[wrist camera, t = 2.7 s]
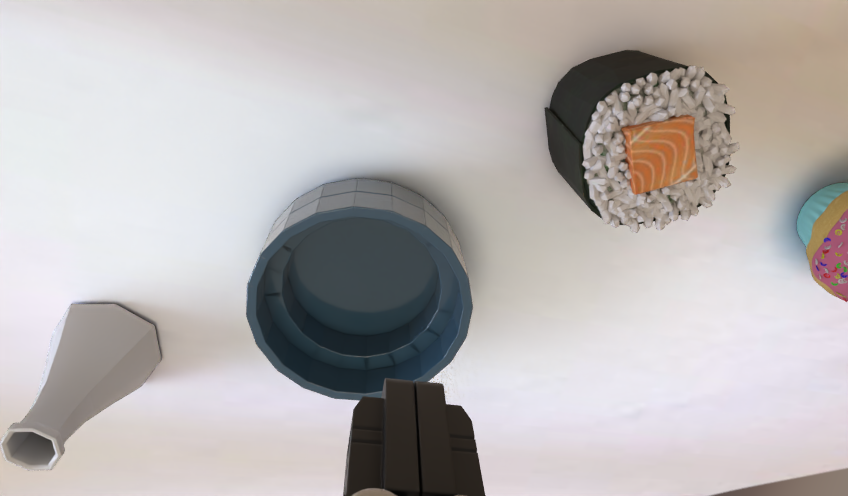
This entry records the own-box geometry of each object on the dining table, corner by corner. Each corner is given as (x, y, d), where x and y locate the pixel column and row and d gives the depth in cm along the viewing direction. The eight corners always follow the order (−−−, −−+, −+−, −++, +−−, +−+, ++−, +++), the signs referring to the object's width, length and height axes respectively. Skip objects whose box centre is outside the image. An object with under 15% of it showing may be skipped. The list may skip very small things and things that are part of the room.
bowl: (268, 163, 36) (249, 194, 31) (477, 189, 37) (491, 222, 32) (261, 341, 41) (244, 391, 36) (444, 357, 43) (451, 408, 38)
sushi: (557, 199, 38) (597, 252, 31) (535, 71, 34) (575, 97, 27) (679, 167, 37) (749, 213, 30) (671, 34, 34) (748, 51, 27)
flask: (171, 316, 40) (108, 416, 31) (154, 395, 43) (91, 509, 34) (60, 286, 38) (-41, 383, 29) (49, 371, 41) (-45, 482, 32)
